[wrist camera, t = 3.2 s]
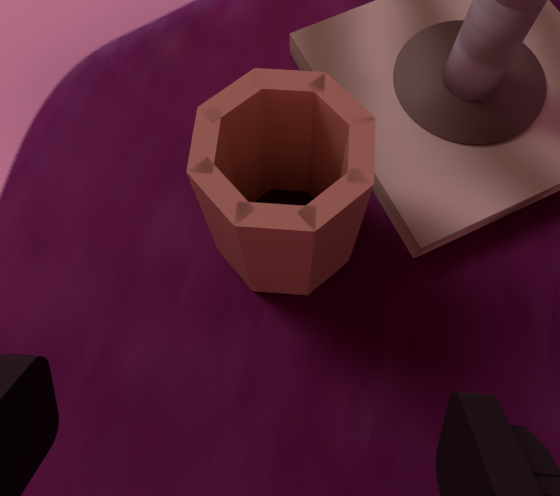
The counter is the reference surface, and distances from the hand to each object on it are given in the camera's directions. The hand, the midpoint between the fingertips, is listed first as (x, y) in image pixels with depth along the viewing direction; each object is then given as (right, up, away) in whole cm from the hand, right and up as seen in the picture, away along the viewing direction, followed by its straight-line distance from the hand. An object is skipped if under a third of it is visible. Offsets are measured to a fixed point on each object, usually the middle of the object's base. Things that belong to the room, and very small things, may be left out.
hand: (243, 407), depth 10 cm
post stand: (+11, +11, +17) cm, 23 cm away
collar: (+1, +4, +15) cm, 15 cm away
